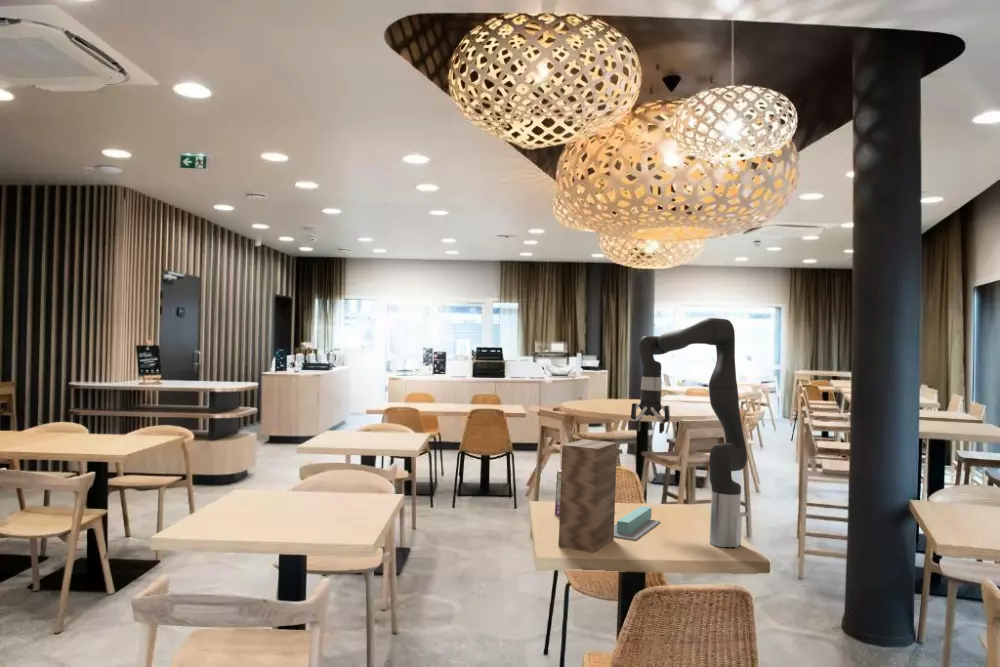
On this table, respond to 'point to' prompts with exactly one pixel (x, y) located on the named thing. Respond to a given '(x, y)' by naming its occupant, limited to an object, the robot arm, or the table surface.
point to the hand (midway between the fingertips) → (649, 432)
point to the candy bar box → (558, 493)
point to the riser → (587, 495)
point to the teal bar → (634, 520)
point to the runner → (637, 531)
